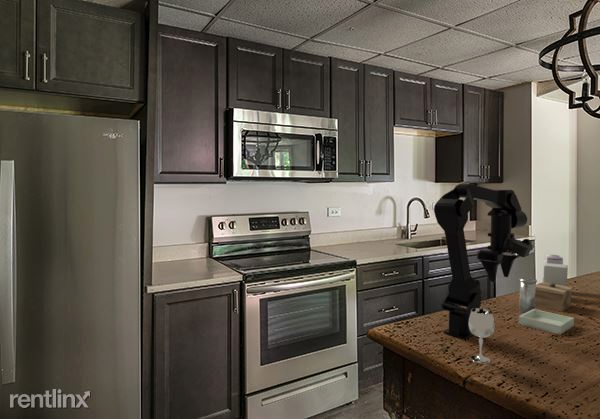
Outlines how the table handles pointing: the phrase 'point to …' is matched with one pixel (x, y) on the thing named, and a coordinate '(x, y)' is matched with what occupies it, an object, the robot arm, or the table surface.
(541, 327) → the tray
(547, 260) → the syrup box
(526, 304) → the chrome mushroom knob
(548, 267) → the supplement box
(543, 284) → the lidded bin
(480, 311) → the wineglass
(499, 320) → the table surface
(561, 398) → the table surface
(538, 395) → the table surface
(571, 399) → the table surface
